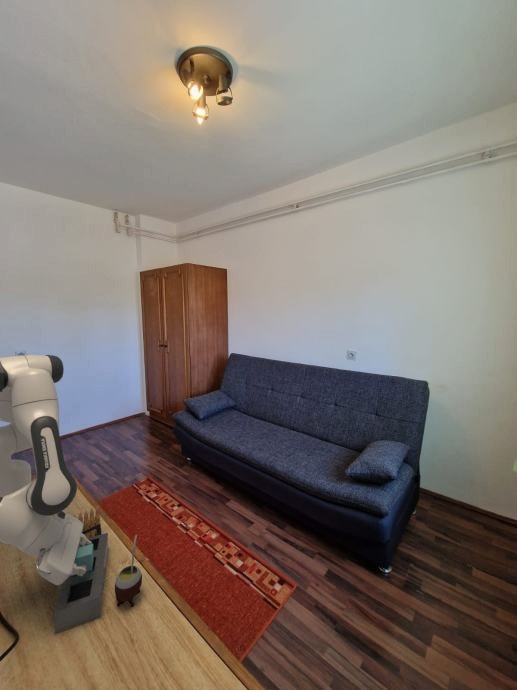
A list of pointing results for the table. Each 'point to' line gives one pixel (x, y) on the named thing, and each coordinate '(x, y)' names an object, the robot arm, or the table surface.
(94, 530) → the ammunition clip
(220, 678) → the table surface
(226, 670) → the table surface
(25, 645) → the table surface
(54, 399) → the robot arm
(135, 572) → the mate gourd
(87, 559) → the square peg
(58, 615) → the block with square holes
